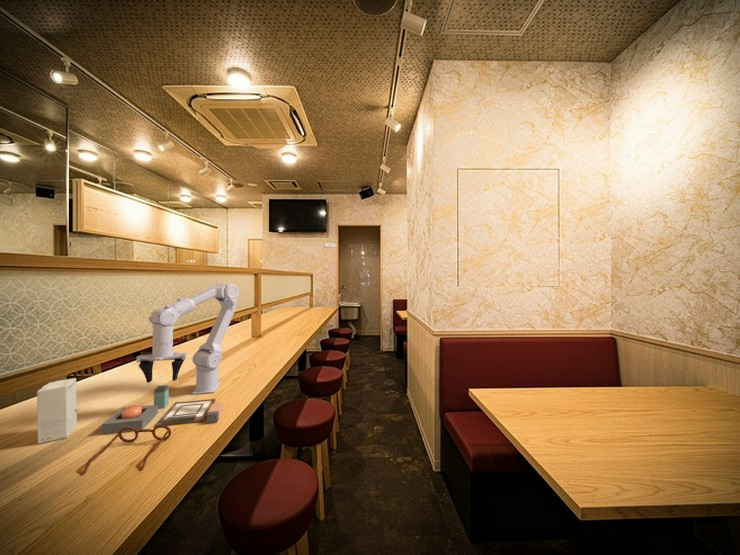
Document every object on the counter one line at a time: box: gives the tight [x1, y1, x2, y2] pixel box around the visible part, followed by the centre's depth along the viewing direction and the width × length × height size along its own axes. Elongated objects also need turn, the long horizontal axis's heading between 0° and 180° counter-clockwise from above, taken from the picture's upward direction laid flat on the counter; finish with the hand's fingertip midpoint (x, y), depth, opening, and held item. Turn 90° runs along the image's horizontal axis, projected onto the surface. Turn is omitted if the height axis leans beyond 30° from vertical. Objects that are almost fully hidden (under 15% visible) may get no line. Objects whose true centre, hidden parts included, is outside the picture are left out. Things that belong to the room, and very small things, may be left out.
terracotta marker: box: [206, 402, 224, 425], centre depth 91 cm, size 7×3×3 cm, turn 16°
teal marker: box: [153, 384, 170, 410], centre depth 97 cm, size 3×3×7 cm
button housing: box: [101, 404, 159, 435], centre depth 86 cm, size 10×10×3 cm
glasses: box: [80, 425, 172, 476], centre depth 71 cm, size 13×13×5 cm
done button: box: [122, 404, 143, 419], centre depth 86 cm, size 5×5×3 cm
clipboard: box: [154, 398, 216, 428], centre depth 93 cm, size 15×13×2 cm
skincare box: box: [36, 377, 78, 445], centre depth 79 cm, size 8×6×15 cm
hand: (162, 380), depth 96 cm, fingers open, 7 cm apart
